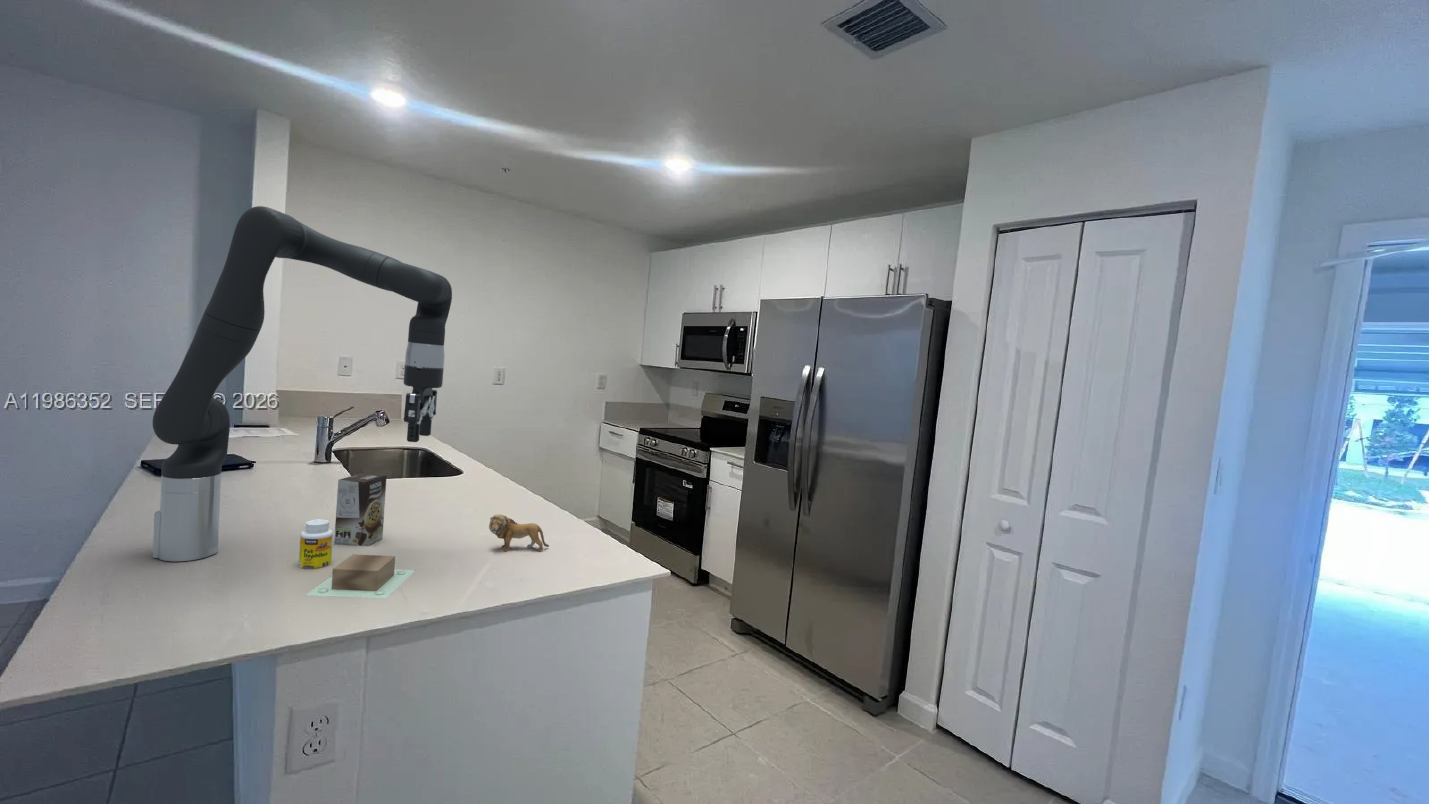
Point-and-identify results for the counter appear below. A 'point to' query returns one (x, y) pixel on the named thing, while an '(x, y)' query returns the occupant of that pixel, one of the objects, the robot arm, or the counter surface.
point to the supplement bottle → (316, 545)
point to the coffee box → (360, 509)
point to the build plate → (382, 592)
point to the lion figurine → (515, 531)
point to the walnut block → (363, 572)
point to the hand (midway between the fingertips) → (419, 438)
